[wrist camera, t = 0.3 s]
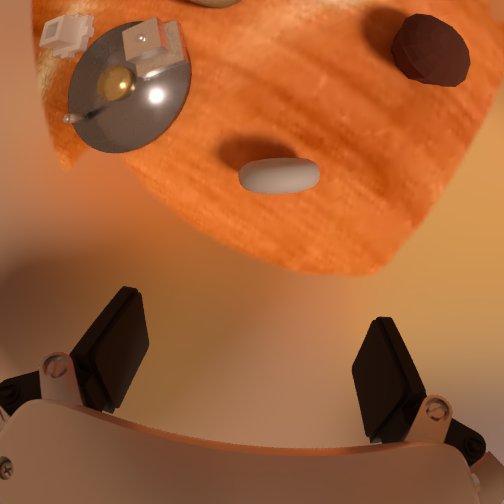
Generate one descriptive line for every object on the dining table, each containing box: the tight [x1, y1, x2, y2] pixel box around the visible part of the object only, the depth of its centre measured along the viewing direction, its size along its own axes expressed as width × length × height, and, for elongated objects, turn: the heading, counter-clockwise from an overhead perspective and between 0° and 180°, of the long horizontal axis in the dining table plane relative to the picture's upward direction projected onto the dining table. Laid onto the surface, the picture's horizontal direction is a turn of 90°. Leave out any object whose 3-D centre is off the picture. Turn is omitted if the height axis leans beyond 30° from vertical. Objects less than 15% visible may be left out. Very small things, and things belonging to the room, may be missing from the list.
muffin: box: [391, 14, 470, 87], centre depth 23 cm, size 12×11×10 cm
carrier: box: [63, 17, 192, 153], centre depth 29 cm, size 22×22×9 cm
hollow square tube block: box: [39, 14, 95, 60], centre depth 25 cm, size 9×9×7 cm
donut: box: [238, 158, 320, 194], centre depth 33 cm, size 10×3×10 cm, turn 95°
